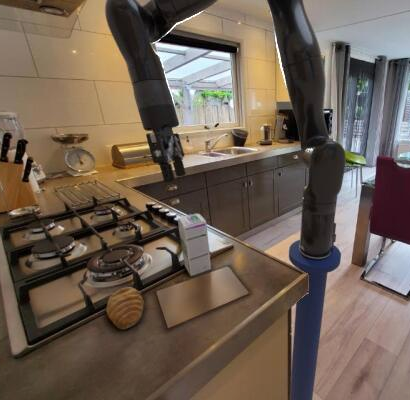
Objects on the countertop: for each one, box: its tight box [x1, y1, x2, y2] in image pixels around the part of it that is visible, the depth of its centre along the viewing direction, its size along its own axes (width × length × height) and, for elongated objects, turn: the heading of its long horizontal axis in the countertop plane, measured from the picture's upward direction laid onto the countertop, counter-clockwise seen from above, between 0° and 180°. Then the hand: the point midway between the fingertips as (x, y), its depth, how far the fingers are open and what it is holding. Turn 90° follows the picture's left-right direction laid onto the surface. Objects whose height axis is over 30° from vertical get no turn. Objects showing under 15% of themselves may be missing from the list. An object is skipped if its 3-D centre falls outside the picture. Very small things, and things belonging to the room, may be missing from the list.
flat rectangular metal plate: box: [155, 265, 250, 330], centre depth 58 cm, size 18×12×1 cm, turn 123°
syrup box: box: [177, 212, 212, 277], centre depth 64 cm, size 6×6×14 cm
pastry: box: [105, 286, 145, 331], centre depth 51 cm, size 9×7×4 cm
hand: (176, 178), depth 59 cm, fingers open, 8 cm apart
